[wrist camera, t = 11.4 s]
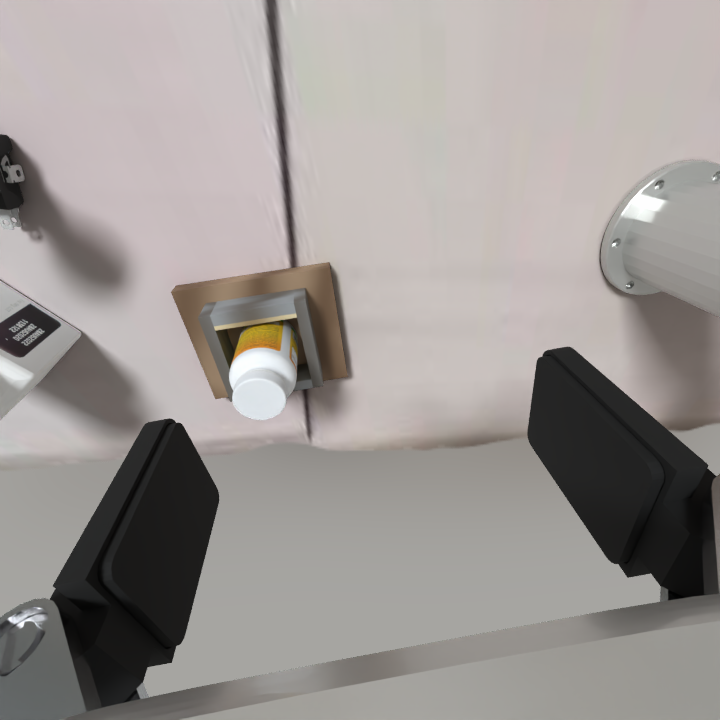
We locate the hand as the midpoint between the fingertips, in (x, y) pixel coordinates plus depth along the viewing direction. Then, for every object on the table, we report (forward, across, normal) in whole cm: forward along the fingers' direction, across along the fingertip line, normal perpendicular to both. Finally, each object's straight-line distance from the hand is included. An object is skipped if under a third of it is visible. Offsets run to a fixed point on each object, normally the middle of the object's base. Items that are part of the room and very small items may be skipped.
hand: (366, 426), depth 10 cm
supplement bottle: (+25, +8, +10) cm, 28 cm away
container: (+26, +30, +5) cm, 40 cm away
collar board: (+26, +8, +10) cm, 29 cm away
